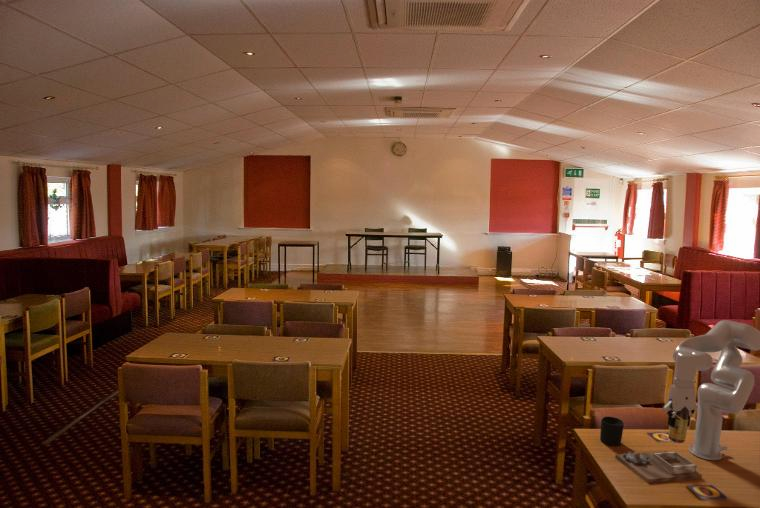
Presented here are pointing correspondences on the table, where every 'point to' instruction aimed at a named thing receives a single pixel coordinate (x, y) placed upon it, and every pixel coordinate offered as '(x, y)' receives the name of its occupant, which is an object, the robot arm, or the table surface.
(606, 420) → the pen holder
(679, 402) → the robot arm
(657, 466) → the gear board
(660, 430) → the table surface
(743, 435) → the table surface
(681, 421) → the sauce bottle
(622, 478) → the table surface
